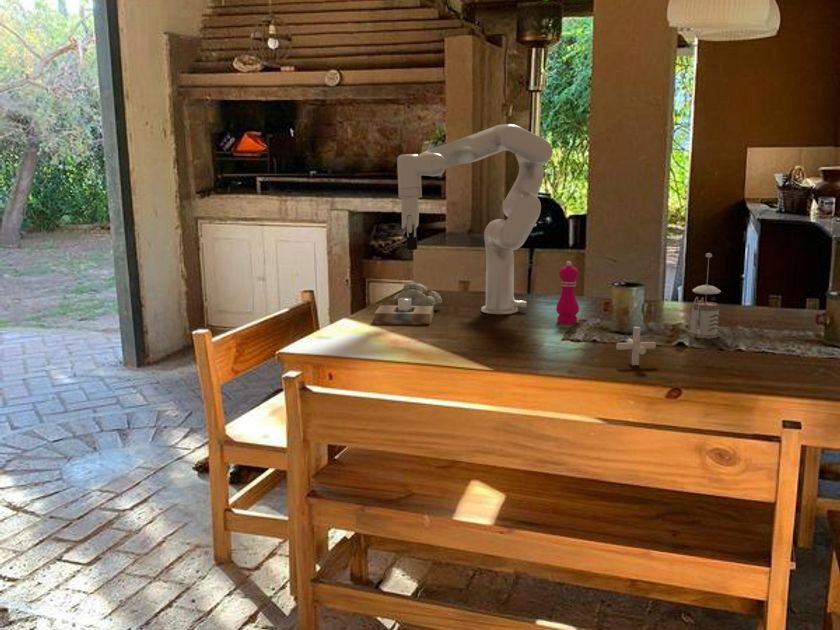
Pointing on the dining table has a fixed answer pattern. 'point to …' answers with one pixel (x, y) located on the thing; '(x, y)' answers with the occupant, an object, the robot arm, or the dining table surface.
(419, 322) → the frame
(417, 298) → the mineral
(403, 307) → the white glossy cylinder
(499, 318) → the dining table surface
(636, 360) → the pipe connector
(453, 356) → the dining table surface
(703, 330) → the french press
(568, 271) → the pepper mill
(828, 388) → the dining table surface
